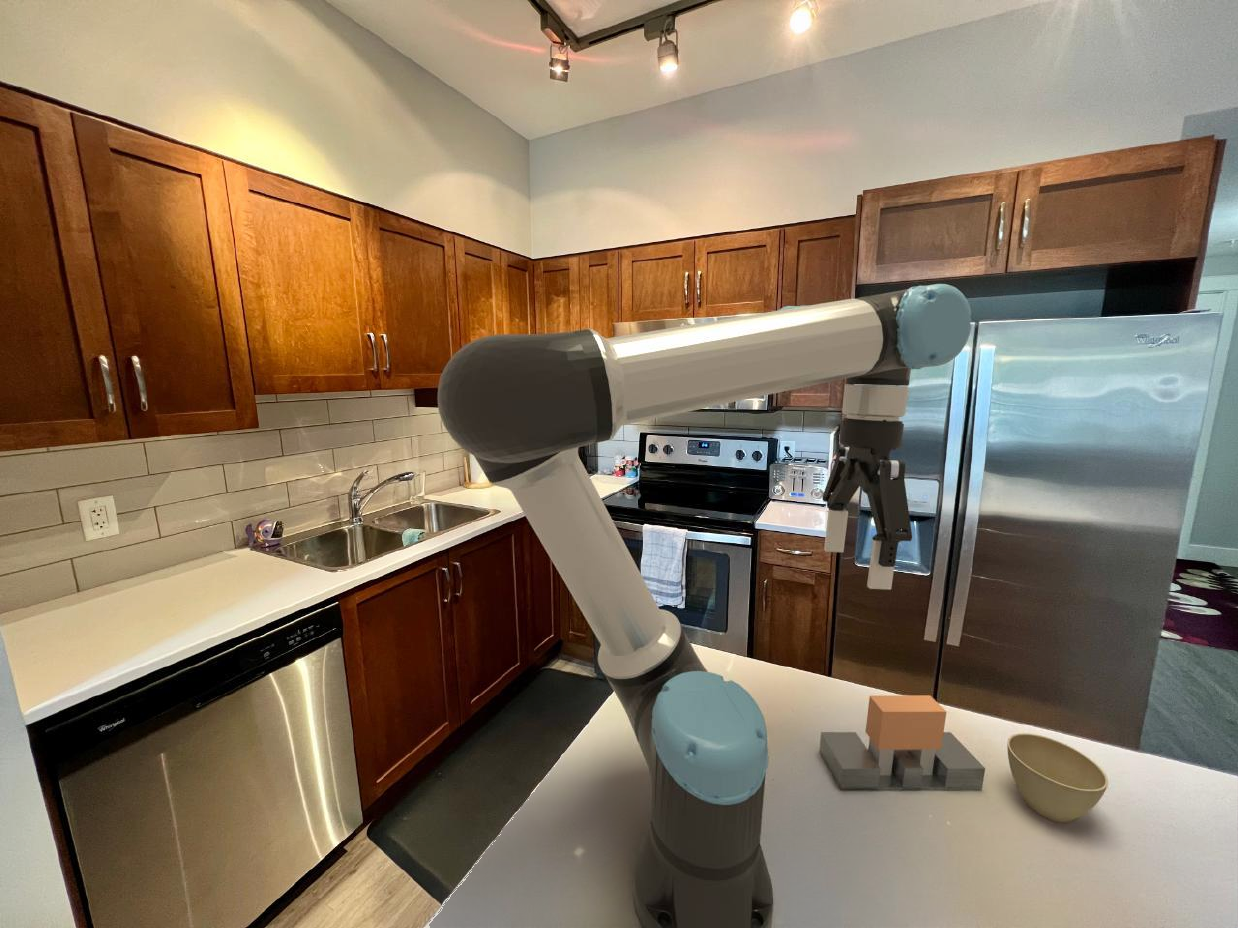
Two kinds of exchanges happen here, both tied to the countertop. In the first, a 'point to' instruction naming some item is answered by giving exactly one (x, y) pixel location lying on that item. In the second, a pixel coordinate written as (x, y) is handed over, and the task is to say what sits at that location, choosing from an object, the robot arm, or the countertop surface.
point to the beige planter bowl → (1054, 777)
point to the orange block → (904, 729)
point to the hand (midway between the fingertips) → (854, 568)
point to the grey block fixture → (899, 766)
